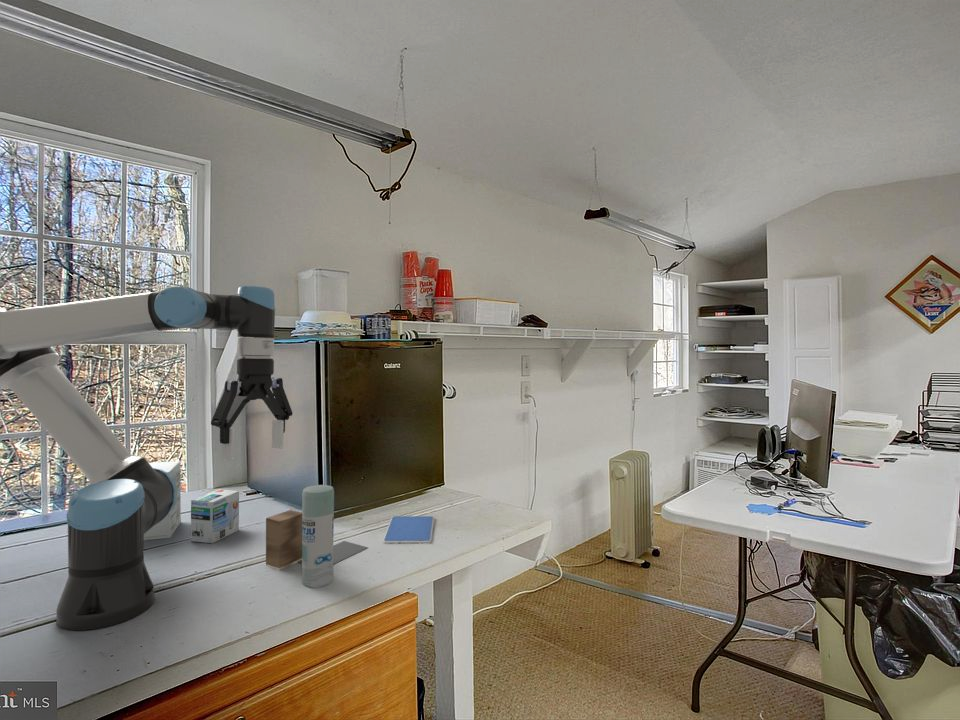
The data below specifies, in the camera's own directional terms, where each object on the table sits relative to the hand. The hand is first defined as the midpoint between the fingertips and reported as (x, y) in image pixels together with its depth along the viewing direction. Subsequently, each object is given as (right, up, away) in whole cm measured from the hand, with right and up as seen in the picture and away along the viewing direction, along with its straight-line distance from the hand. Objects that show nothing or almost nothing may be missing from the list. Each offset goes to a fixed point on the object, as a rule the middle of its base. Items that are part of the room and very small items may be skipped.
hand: (254, 453), depth 116 cm
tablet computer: (+31, -27, +28) cm, 49 cm away
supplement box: (-38, -26, +23) cm, 51 cm away
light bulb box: (-20, -26, +22) cm, 39 cm away
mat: (+15, -26, +10) cm, 32 cm away
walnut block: (+5, -27, +6) cm, 28 cm away
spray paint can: (+15, -27, -3) cm, 31 cm away
